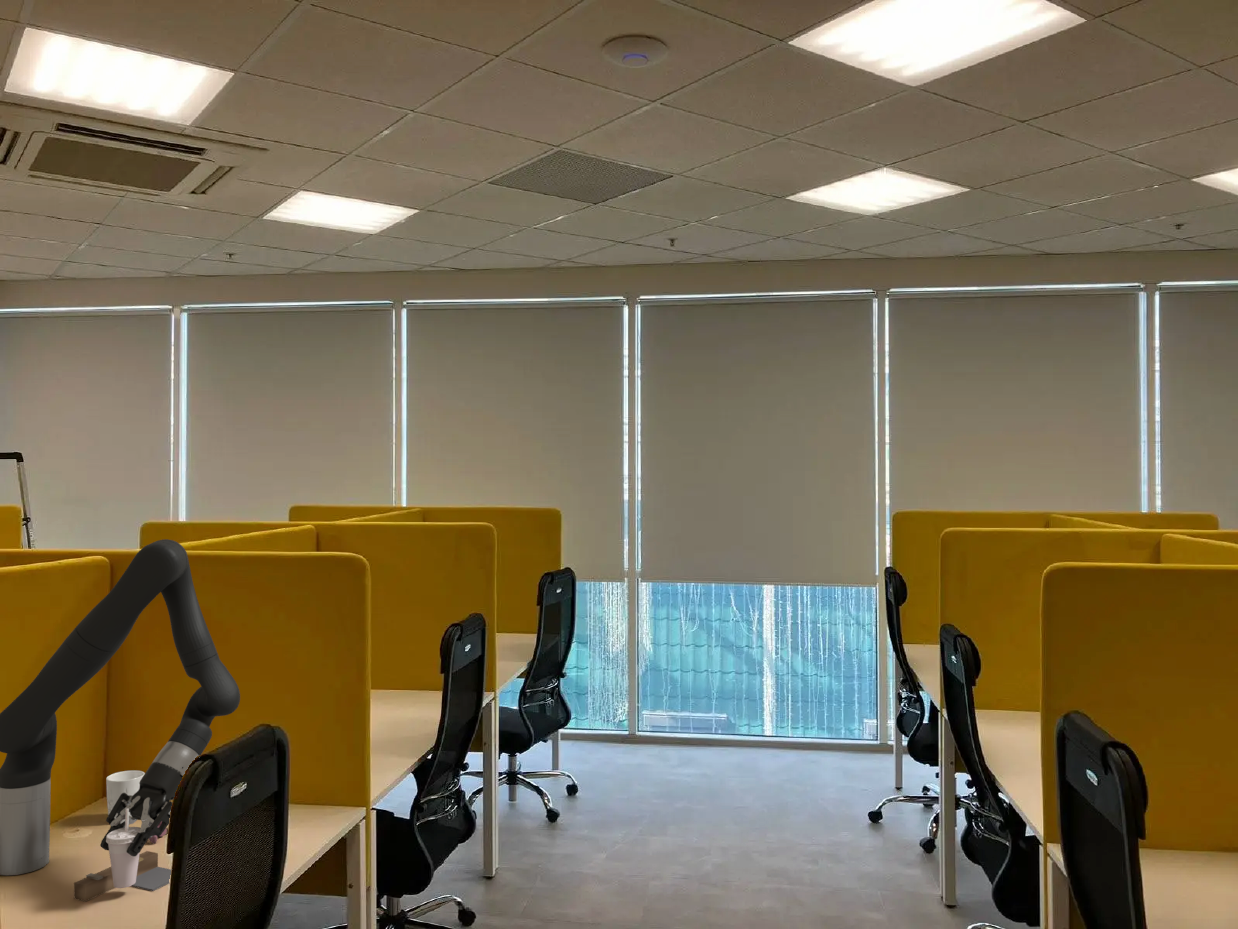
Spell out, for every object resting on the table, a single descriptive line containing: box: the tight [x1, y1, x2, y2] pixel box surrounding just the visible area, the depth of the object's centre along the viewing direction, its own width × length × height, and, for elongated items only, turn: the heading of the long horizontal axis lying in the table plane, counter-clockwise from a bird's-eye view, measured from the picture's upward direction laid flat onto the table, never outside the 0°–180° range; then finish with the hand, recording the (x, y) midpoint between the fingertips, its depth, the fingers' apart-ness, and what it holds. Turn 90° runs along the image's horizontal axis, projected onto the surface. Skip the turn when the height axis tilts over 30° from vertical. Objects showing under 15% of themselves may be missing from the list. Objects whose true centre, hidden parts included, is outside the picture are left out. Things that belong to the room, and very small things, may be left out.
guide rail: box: [73, 850, 159, 902], centre depth 177 cm, size 3×16×3 cm, turn 158°
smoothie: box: [106, 809, 141, 889], centre depth 173 cm, size 6×6×14 cm
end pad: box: [131, 866, 172, 892], centre depth 179 cm, size 8×8×1 cm
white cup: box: [105, 769, 146, 824], centre depth 211 cm, size 8×8×10 cm
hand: (117, 851), depth 171 cm, fingers closed on smoothie, 6 cm apart
